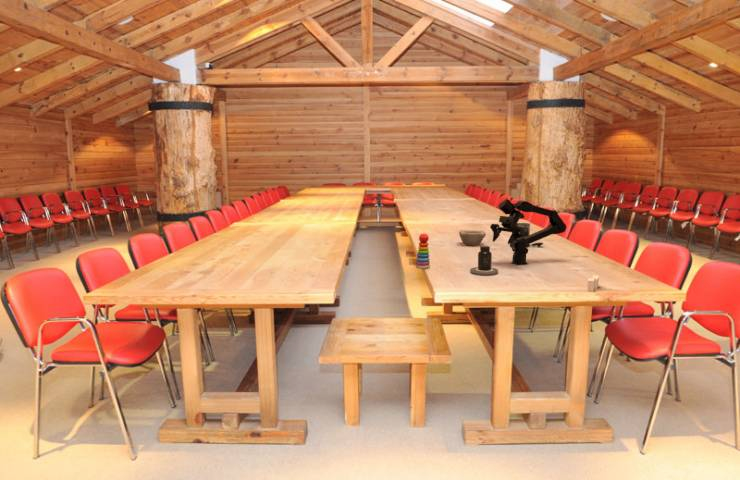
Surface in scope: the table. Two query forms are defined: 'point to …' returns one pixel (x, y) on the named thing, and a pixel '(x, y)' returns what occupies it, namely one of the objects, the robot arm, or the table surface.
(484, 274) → the hub pad
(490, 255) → the supplement bottle
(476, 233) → the mortar
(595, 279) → the napkin holder
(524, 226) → the milk frother
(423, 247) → the stacking toy
